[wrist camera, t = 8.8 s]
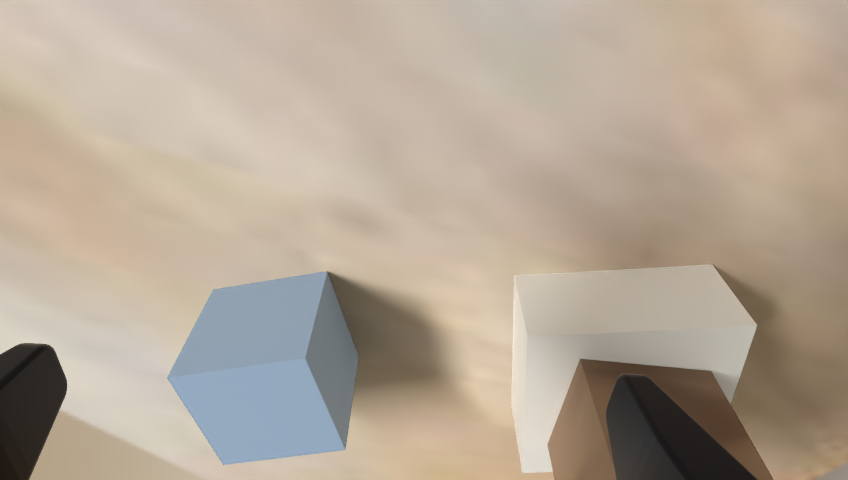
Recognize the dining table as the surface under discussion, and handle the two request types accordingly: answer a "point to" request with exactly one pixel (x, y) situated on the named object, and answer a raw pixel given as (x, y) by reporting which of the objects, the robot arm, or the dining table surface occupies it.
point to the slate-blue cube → (270, 370)
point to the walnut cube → (587, 429)
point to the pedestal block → (617, 336)
